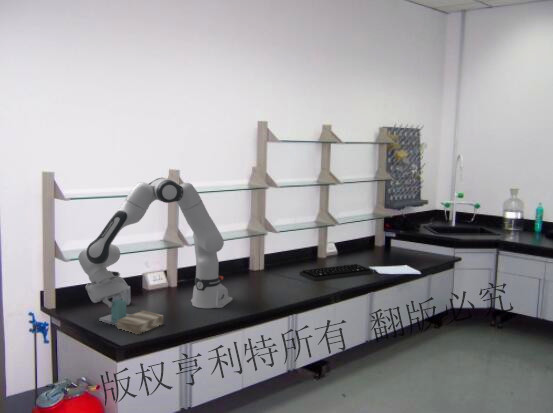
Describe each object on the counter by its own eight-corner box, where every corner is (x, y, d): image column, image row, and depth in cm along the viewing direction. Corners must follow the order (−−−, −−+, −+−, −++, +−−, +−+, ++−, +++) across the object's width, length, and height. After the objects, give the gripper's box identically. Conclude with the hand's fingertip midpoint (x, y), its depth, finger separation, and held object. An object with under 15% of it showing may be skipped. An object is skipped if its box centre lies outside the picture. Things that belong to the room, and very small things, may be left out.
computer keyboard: (314, 282, 331) (314, 276, 330) (299, 275, 344) (299, 269, 343) (372, 274, 354) (372, 268, 353) (356, 268, 367) (356, 263, 367)
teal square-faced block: (118, 314, 255) (118, 299, 254) (126, 316, 252) (126, 300, 251) (111, 317, 251) (111, 301, 250) (118, 319, 248) (118, 303, 247)
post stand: (118, 314, 260) (118, 300, 259) (138, 319, 254) (138, 305, 253) (99, 321, 249) (99, 307, 248) (118, 327, 244) (118, 312, 243)
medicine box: (130, 302, 277) (130, 285, 276) (128, 305, 273) (128, 288, 272) (114, 302, 277) (114, 285, 276) (112, 305, 273) (112, 288, 271)
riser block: (142, 318, 255) (142, 310, 255) (163, 324, 250) (163, 315, 249) (117, 328, 241) (117, 320, 241) (138, 334, 236) (138, 325, 235)
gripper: (87, 280, 244) (103, 306, 241) (121, 271, 262) (136, 295, 258) (80, 288, 247) (96, 314, 243) (114, 278, 264) (129, 302, 261)
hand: (117, 304), depth 251 cm, fingers open, 5 cm apart
